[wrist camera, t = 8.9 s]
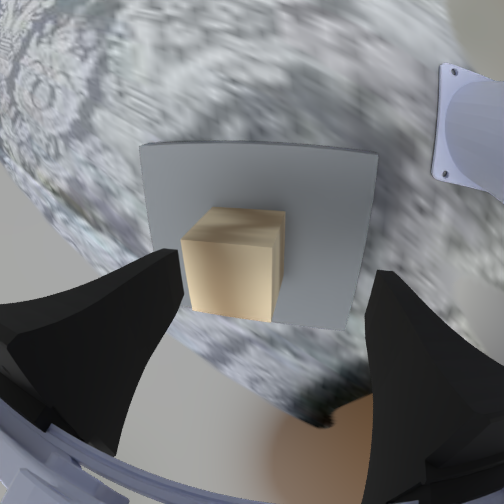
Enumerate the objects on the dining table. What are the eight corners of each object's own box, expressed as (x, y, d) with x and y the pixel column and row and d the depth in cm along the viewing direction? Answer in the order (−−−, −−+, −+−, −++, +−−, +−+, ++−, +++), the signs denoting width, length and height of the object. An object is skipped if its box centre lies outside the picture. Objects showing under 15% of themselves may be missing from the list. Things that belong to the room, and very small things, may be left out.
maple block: (285, 211, 19) (272, 247, 14) (283, 276, 21) (270, 322, 17) (212, 206, 20) (180, 239, 15) (218, 268, 22) (192, 310, 18)
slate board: (375, 152, 16) (378, 155, 15) (344, 321, 23) (344, 331, 22) (147, 143, 20) (138, 146, 19) (169, 295, 27) (164, 302, 26)
